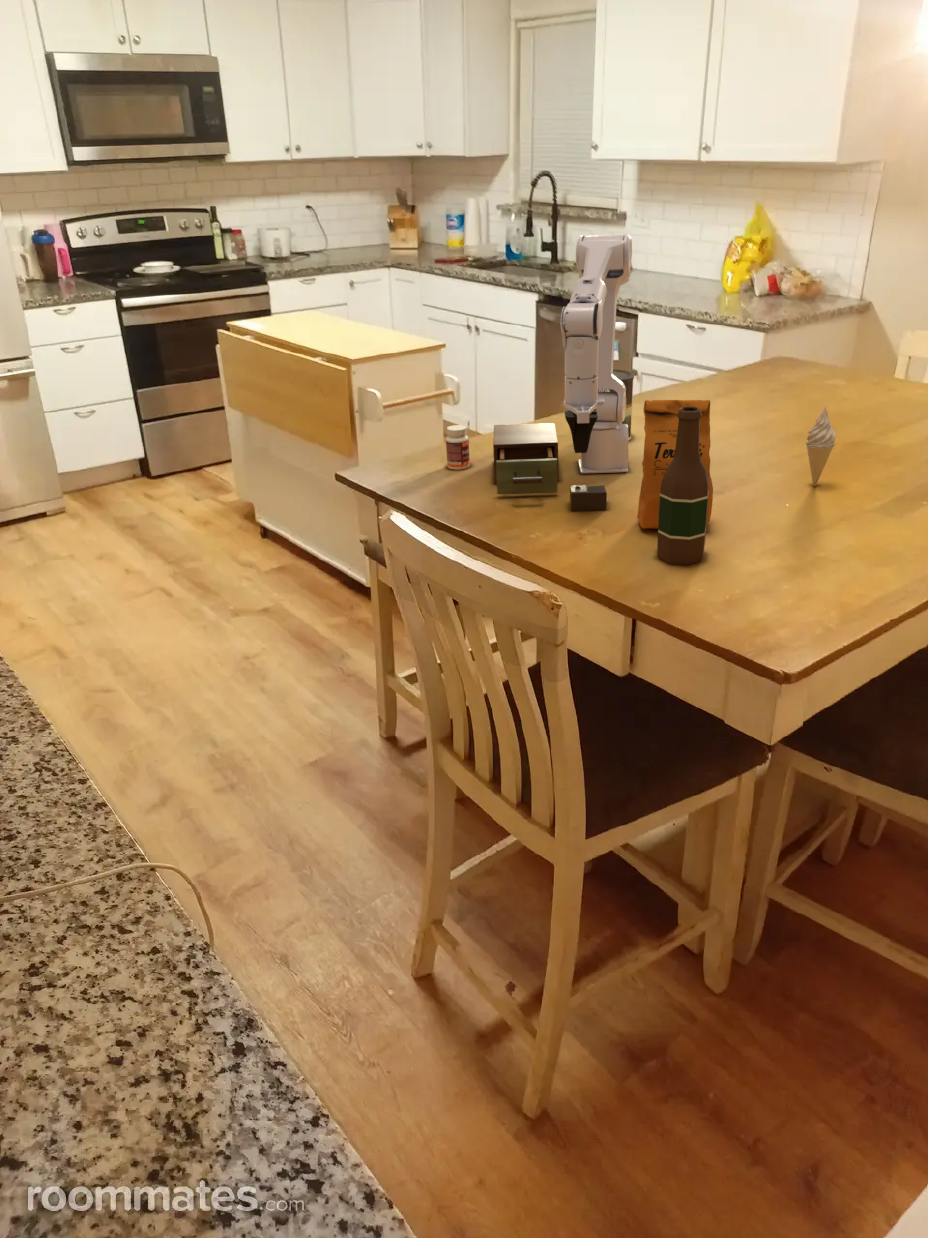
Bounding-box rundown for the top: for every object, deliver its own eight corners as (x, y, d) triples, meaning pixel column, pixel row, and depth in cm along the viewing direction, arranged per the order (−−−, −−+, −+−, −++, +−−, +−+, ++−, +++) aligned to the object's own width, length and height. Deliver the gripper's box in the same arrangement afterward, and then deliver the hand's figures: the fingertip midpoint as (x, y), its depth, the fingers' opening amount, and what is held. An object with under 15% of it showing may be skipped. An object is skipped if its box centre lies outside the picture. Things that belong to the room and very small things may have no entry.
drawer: (558, 500, 170) (558, 468, 167) (497, 502, 170) (496, 470, 168) (554, 470, 185) (553, 439, 182) (497, 472, 186) (496, 442, 183)
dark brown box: (604, 502, 170) (604, 481, 168) (606, 509, 167) (606, 488, 165) (569, 504, 170) (569, 483, 169) (571, 511, 167) (571, 489, 165)
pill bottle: (467, 470, 191) (465, 430, 187) (445, 469, 191) (442, 430, 188) (471, 462, 195) (470, 424, 191) (450, 462, 196) (447, 424, 192)
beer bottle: (650, 548, 151) (657, 403, 140) (696, 544, 151) (707, 400, 140) (663, 567, 144) (671, 417, 133) (711, 563, 144) (724, 413, 133)
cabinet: (558, 481, 181) (558, 442, 178) (494, 484, 182) (493, 444, 178) (554, 460, 193) (554, 422, 190) (495, 462, 194) (493, 424, 190)
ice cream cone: (828, 481, 174) (839, 403, 167) (828, 490, 169) (840, 410, 162) (800, 480, 175) (810, 402, 168) (800, 489, 171) (810, 409, 164)
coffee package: (709, 538, 153) (719, 407, 143) (634, 534, 156) (639, 406, 146) (711, 516, 162) (721, 391, 151) (639, 512, 165) (644, 390, 154)
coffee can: (626, 446, 199) (628, 381, 193) (580, 443, 203) (580, 379, 196) (636, 432, 208) (638, 369, 201) (592, 429, 211) (593, 368, 205)
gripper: (608, 384, 151) (606, 464, 158) (601, 365, 164) (600, 438, 170) (565, 386, 152) (565, 465, 158) (562, 366, 165) (562, 440, 171)
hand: (580, 451), depth 164 cm, fingers closed
